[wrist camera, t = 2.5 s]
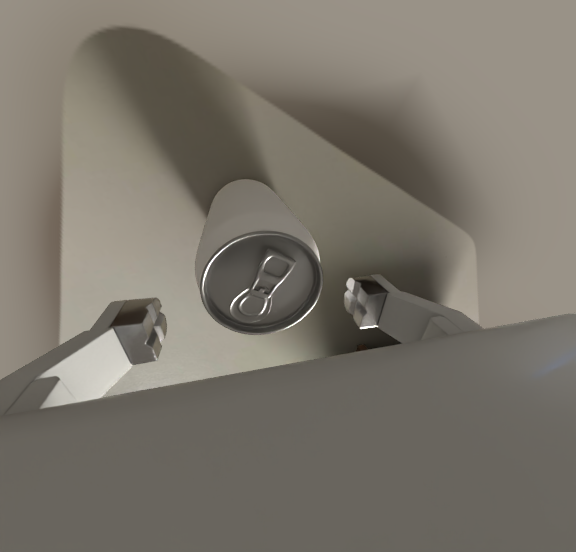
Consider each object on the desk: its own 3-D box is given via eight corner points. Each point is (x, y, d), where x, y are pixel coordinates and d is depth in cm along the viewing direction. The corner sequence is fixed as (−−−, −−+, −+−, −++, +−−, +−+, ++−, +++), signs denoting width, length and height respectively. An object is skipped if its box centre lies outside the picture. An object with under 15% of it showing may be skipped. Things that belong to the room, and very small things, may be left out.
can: (199, 231, 20) (167, 323, 10) (228, 162, 18) (226, 188, 8) (262, 259, 23) (288, 352, 13) (295, 201, 20) (358, 259, 10)
